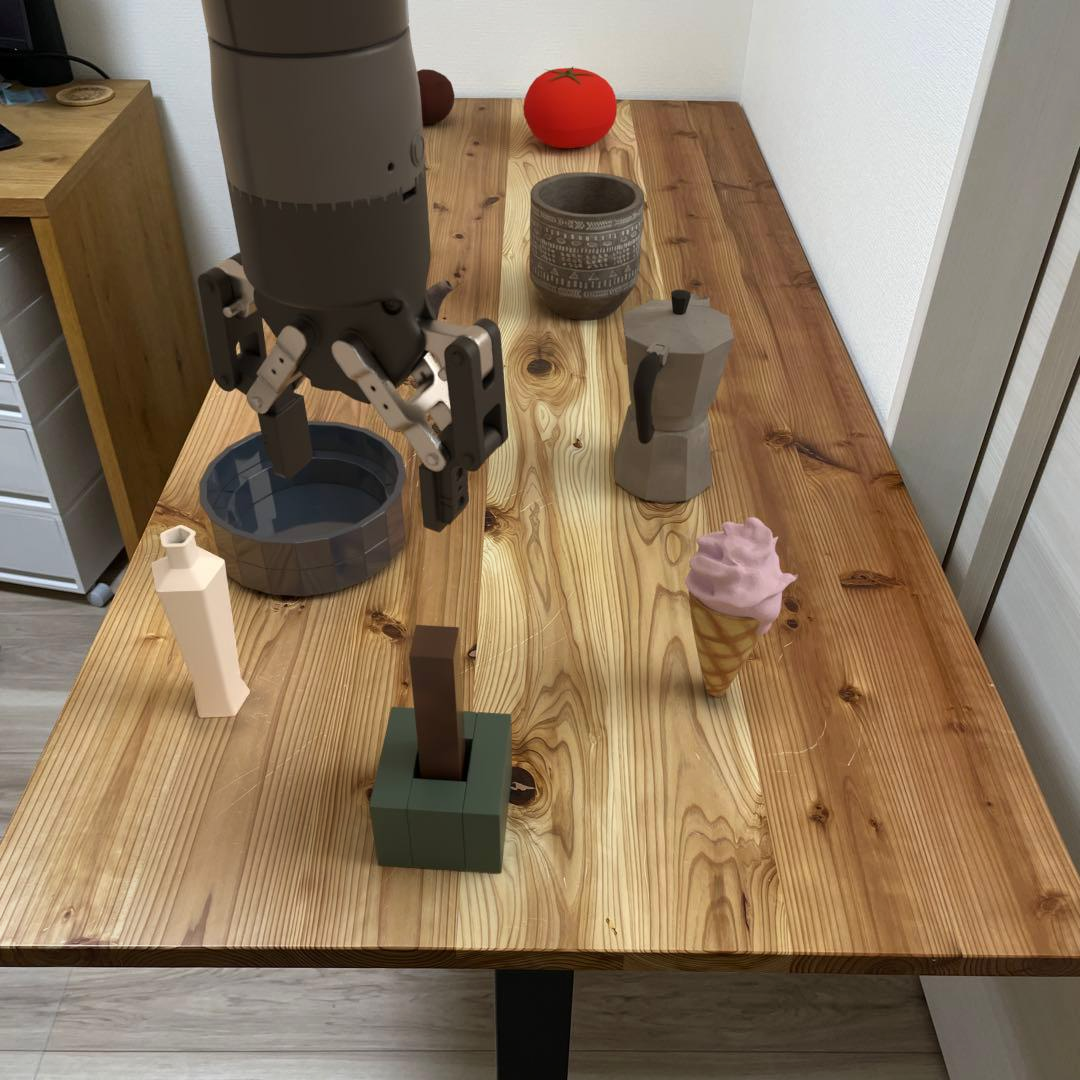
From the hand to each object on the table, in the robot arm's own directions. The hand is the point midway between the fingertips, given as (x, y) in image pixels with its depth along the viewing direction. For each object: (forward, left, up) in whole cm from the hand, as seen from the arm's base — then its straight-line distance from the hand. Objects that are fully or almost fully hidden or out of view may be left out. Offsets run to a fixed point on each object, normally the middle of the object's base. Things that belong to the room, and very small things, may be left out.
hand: (366, 494), depth 51 cm
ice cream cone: (+21, +12, -26) cm, 36 cm away
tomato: (+5, +120, -26) cm, 123 cm away
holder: (+3, 0, -26) cm, 26 cm away
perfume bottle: (-15, +9, -26) cm, 31 cm away
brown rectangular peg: (+3, 0, -26) cm, 26 cm away
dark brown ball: (-17, +127, -26) cm, 131 cm away
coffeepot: (+17, +37, -26) cm, 49 cm away
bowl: (-12, +27, -26) cm, 40 cm away
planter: (+9, +70, -26) cm, 76 cm away
